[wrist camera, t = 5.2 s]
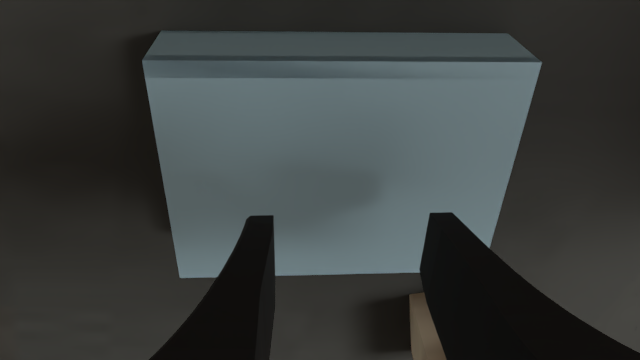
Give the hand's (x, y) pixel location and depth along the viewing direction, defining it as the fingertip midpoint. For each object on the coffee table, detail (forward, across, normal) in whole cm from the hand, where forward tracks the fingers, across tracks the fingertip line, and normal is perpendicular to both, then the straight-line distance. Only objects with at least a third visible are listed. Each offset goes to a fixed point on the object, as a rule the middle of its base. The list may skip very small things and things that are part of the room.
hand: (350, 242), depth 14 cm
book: (+6, 0, 0) cm, 6 cm away
